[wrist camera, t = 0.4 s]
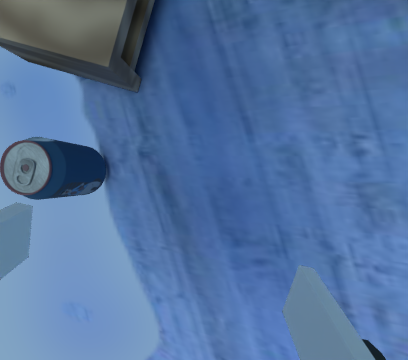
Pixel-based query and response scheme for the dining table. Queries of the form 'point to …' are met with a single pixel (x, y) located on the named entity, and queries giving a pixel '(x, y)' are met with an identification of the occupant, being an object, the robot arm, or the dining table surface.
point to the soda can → (51, 168)
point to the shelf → (79, 36)
